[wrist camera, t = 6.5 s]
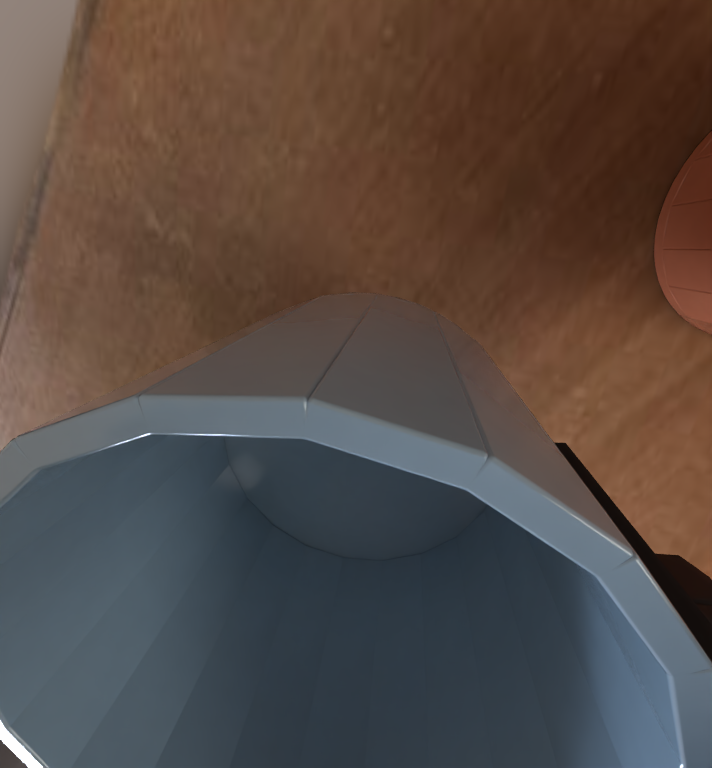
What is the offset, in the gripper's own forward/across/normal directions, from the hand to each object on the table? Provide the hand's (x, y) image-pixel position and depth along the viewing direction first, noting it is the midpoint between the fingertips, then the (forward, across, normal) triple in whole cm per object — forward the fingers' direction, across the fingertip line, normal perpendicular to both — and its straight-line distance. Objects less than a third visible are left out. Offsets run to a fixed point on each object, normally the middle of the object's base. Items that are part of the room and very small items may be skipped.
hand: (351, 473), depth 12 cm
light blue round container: (+2, 0, 0) cm, 2 cm away
